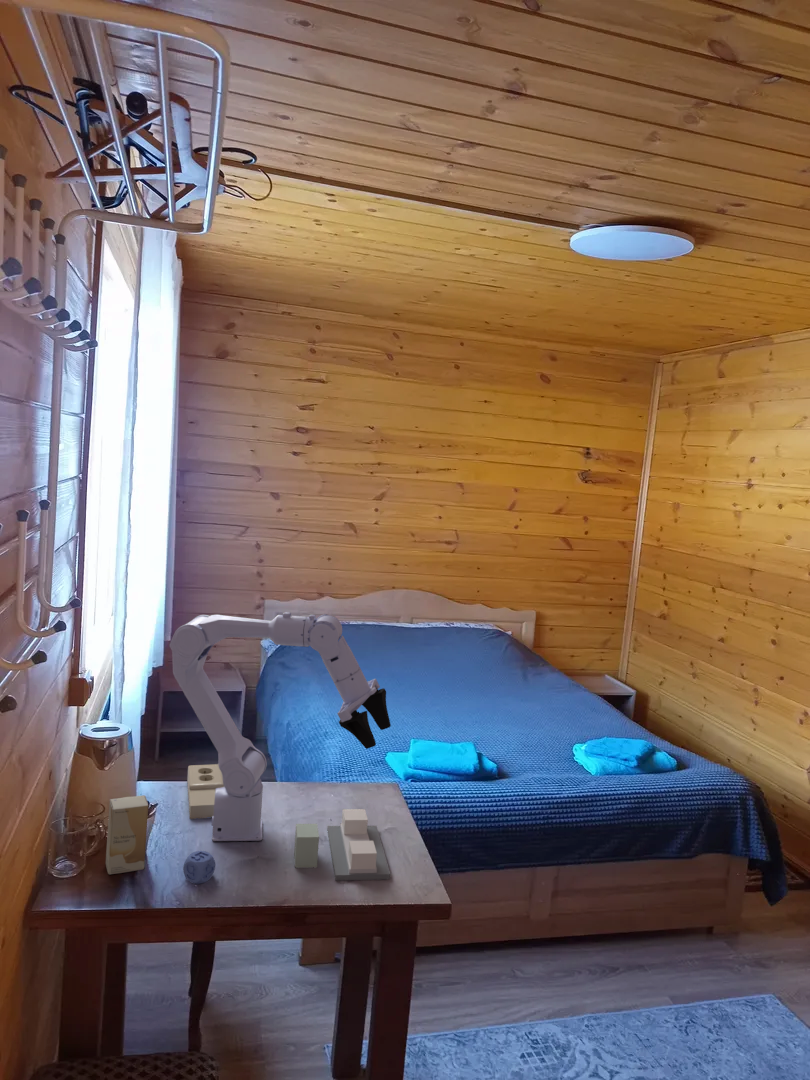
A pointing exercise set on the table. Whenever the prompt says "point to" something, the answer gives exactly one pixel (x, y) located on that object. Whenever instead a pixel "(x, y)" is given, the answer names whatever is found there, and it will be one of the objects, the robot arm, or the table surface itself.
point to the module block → (306, 845)
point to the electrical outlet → (203, 789)
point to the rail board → (342, 860)
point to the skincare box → (126, 834)
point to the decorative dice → (199, 867)
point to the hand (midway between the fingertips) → (378, 737)
